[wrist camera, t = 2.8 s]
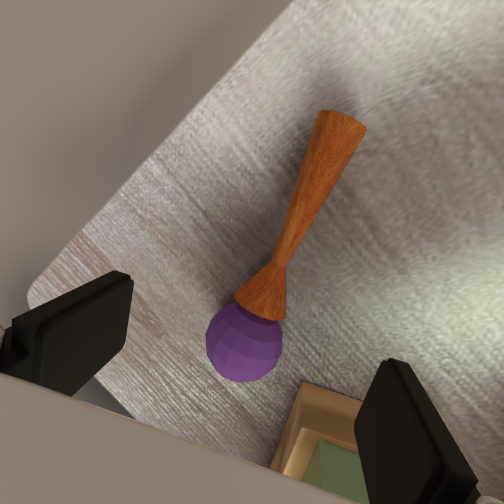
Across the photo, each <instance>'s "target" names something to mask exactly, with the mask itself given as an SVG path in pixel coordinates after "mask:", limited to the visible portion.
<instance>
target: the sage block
mask: <svg viewBox="0 0 504 504" xmlns="http://www.w3.org/2000/svg"><path fill="white" fill-rule="evenodd" d="M302 482H305V483H308V484H311V485H313V486H316V487H319V488H321V489H324V490H327V491H329V492H332V493H335V494H337V495H340V496H343V497H345V498H348V499H351V500H353V501H356V502H359V503H361V504H369V499H368V494H367V490H366V485H365V480H364V476H363V471H362V466H361V462H360V457H359V454H358V453H355V452H353V451H350V450H347V449H344V448H342V447H339V446H336V445H333V444H331V443H328V442H325V441H323V440H319V441H318V444H317V446H316V448H315V451H314V453H313V455H312V458H311V460H310V462H309V465H308V467H307V469H306V472H305V474H304V476H303V479H302Z"/></svg>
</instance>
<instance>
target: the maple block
mask: <svg viewBox="0 0 504 504" xmlns="http://www.w3.org/2000/svg"><path fill="white" fill-rule="evenodd" d="M362 403H363V402H362V401H359V400H356V399H353V398H350V397H348V396H345V395H342V394H339V393H336V392H333V391H330V390H327V389H324V388H322V387H319V386H316V385H313V384H310V383H307V382H304V381H302V383H301V385H300V388H299V391H298V393H297V396H296V399H295V401H294V404H293V407H292V409H291V412H290V415H289V417H288V420H287V423H286V425H285V428H284V431H283V433H282V436H281V439H280V441H279V444H278V447H277V449H276V452H275V454H274V457H273V460H272V462H271V465H270V468H269V469H270V470H273V471H276V472H278V473H281V474H284V475H286V476H289V477H292V478H294V479H297V480H300V481H302V479H303V476H304V474H305V472H306V469H307V467H308V465H309V462H310V460H311V458H312V455H313V453H314V451H315V448H316V446H317V444H318V441H319V440H323V441H325V442H328V443H331V444H333V445H336V446H339V447H342V448H344V449H347V450H350V451H353V452H355V453H358V454H359V452H358V448H357V443H356V438H355V434H354V422H355V419H356V416H357V414H358V412H359V410H360V408H361V405H362Z"/></svg>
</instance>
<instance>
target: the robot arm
mask: <svg viewBox="0 0 504 504" xmlns="http://www.w3.org/2000/svg"><path fill="white" fill-rule="evenodd" d="M133 286H134V281H133V280H131V277H130V275H128V274H125V273H122V272H119V271H115V270H114V271H111V272H109V273H107V274H105V275H103V276H101V277H99V278H97V279H94V280H92V281H90V282H88V283H86V284H84V285H82V286H80V287H78V288H76V289H74V290H72V291H69V292H67V293H65V294H63V295H61V296H59V297H57V298H55V299H53V300H51V301H49V302H47V303H44V304H42V305H40V306H38V307H36V308H34V309H32V310H30V311H28V312H26V313H24V314H22V315H19V316H17V317H15V318H13V319H12V326H11V327H9V328H7V329H4V328H3V327H2V326H1V325H0V504H361V503H359V502H356V501H353V500H351V499H348V498H345V497H343V496H340V495H337V494H335V493H332V492H329V491H327V490H324V489H321V488H319V487H316V486H313V485H311V484H308V483H305V482H302V481H300V480H297V479H294V478H292V477H289V476H286V475H284V474H281V473H278V472H276V471H273V470H270V469H268V468H265V467H262V466H260V465H257V464H254V463H252V462H249V461H246V460H243V459H241V458H238V457H235V456H233V455H230V454H227V453H224V452H222V451H219V450H216V449H214V448H211V447H208V446H205V445H203V444H200V443H197V442H195V441H192V440H189V439H186V438H184V437H181V436H178V435H175V434H173V433H170V432H167V431H164V430H162V429H159V428H156V427H154V426H151V425H148V424H145V423H142V422H140V421H137V420H134V419H131V418H129V417H126V416H123V415H120V414H117V413H115V412H112V411H109V410H106V409H104V408H100V407H98V406H95V405H92V404H90V403H87V402H84V401H81V400H78V399H76V398H73V397H72V396H73V395H74V394H75V393H76V392H77V391H78V390H79V389H80V388H81V387H82V386H83V385H84V384H85V383H86V382H88V381H89V379H91V378H92V377H93V376H94V375H95V374H96V373H97V372H98V371H99V370H100V369H101V368H102V367H103V366H105V365H106V364H107V363H108V362H109V361H110V360H111V359H112V358H113V357H114V356H115V355H116V354H117V353H118V352H119V351H120V350H121V349H122V348H123V346H124V344H125V340H126V333H127V327H128V320H129V313H130V307H131V300H132V293H133ZM354 434H355V438H356V443H357V448H358V452H359V457H360V462H361V466H362V471H363V476H364V480H365V485H366V490H367V494H368V499H369V504H504V502H502V501H500V500H498V499H496V498H493V497H489V496H481V495H480V493H479V491H478V490H477V488H476V484H477V483H478V479H477V477H476V476H475V474H474V472H473V471H472V469H471V467H470V466H469V464H468V462H467V461H466V459H465V457H464V456H463V454H462V452H461V450H460V449H459V447H458V445H457V444H456V442H455V440H454V439H453V437H452V435H451V434H450V432H449V430H448V429H447V427H446V425H445V423H444V422H443V420H442V418H441V417H440V415H439V413H438V412H437V410H436V408H435V407H434V405H433V403H432V402H431V400H430V398H429V397H428V395H427V393H426V391H425V390H424V388H423V386H422V385H421V383H420V381H419V380H418V378H417V376H416V375H415V373H414V371H413V370H412V368H411V366H410V365H409V364H408V363H406V362H403V361H399V360H396V359H393V358H389V359H388V360H387V361H386V360H383V361H382V362H381V364H380V366H379V368H378V370H377V372H376V375H375V377H374V379H373V381H372V383H371V386H370V388H369V390H368V392H367V394H366V397H365V399H364V401H363V403H362V405H361V408H360V410H359V412H358V414H357V416H356V419H355V422H354Z"/></svg>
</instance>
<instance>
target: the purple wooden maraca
mask: <svg viewBox="0 0 504 504" xmlns="http://www.w3.org/2000/svg"><path fill="white" fill-rule="evenodd" d="M366 131H367V129H366V127H365V126H364V125H363V124H362V123H361V122H359V121H358V120H356V119H354V118H352V117H350V116H348V115H345V114H343V113H340V112H335V111H331V110H322V111H319V112H318V116H317V119H316V122H315V125H314V128H313V131H312V135H311V138H310V141H309V144H308V147H307V150H306V154H305V157H304V160H303V163H302V166H301V170H300V173H299V176H298V179H297V182H296V185H295V189H294V192H293V195H292V198H291V201H290V204H289V208H288V211H287V214H286V217H285V220H284V223H283V227H282V230H281V233H280V236H279V239H278V243H277V246H276V249H275V252H274V255H273V258H272V260H271V261H270V262H269V263H268V264H267V265H266V266H265V267H263V268H262V269H261V270H260V271H259V272H258V273H257V274H255V275H254V276H253V277H252V278H251V279H250V280H249V281H248V282H246V283H245V284H244V285H243V286H242V287H241V288H240V289H238V290H237V291H236V293H235V294H234V296H235V299H236V301H237V302H236V303H233V304H230V305H227V306H224V307H223V308H222V309H221V310H220V311H219V312H218V313H217V314H216V315H215V316H214V317H213V319H212V320H211V322H210V324H209V327H208V329H207V332H206V350H207V357H208V358H209V360H210V361H211V363H212V365H213V366H214V368H215V369H216V371H217V372H218V373H219V374H221V375H222V376H223V377H225V378H227V379H229V380H231V381H235V382H250V381H256V380H259V379H260V378H261V377H263V376H264V375H265V374H267V373H268V372H269V371H270V370H272V369H273V368H274V367H275V366H276V364H277V362H278V359H279V357H280V355H281V352H282V330H281V328H280V326H279V324H278V321H277V320H283V319H285V317H286V265H287V263H288V261H289V260H290V258H291V256H292V255H293V253H294V251H295V250H296V248H297V246H298V245H299V243H300V241H301V240H302V238H303V236H304V235H305V233H306V231H307V230H308V228H309V226H310V225H311V223H312V221H313V220H314V218H315V216H316V215H317V213H318V211H319V210H320V208H321V206H322V205H323V203H324V201H325V200H326V198H327V196H328V195H329V193H330V191H331V190H332V188H333V186H334V185H335V183H336V181H337V180H338V178H339V176H340V174H341V173H342V171H343V169H344V168H345V166H346V164H347V163H348V161H349V159H350V158H351V156H352V154H353V153H354V151H355V149H356V148H357V146H358V144H359V143H360V141H361V139H362V138H363V136H364V134H365V133H366Z"/></svg>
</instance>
